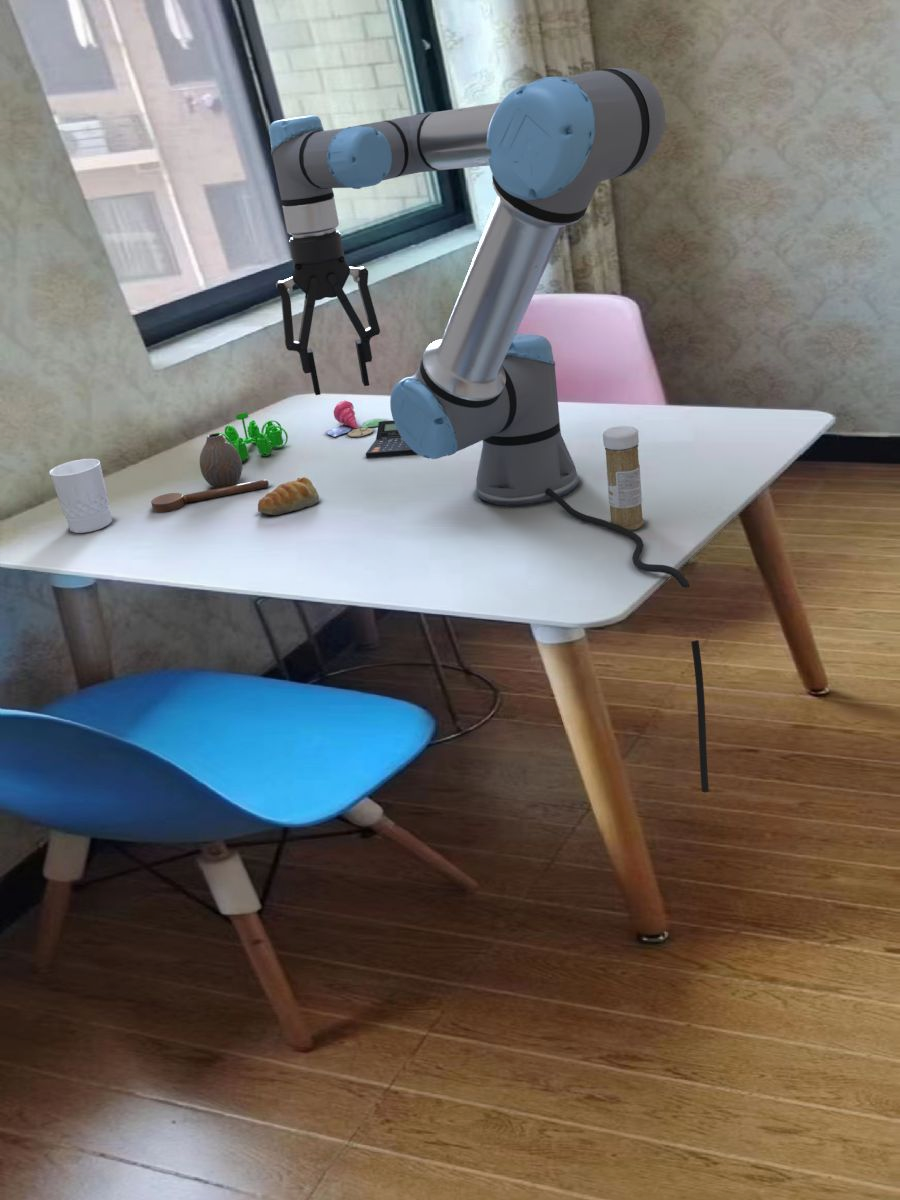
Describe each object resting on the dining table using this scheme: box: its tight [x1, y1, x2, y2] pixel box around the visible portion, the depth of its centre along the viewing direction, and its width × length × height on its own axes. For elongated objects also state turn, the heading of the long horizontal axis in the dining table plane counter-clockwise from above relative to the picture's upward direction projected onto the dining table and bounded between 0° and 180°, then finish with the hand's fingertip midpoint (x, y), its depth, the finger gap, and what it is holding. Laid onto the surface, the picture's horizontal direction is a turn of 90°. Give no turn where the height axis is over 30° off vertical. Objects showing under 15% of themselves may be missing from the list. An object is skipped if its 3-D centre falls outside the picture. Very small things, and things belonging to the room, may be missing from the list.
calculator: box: [365, 419, 418, 459], centre depth 202 cm, size 9×12×3 cm
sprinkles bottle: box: [602, 425, 645, 531], centre depth 152 cm, size 5×5×14 cm
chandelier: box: [215, 412, 289, 463], centre depth 210 cm, size 15×15×7 cm
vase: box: [199, 432, 243, 489], centre depth 194 cm, size 7×7×9 cm
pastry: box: [257, 476, 320, 516], centre depth 180 cm, size 9×7×4 cm
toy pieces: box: [326, 400, 387, 438], centre depth 215 cm, size 12×11×4 cm
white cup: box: [48, 458, 113, 534], centre depth 184 cm, size 8×8×10 cm
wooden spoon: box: [150, 479, 270, 513], centre depth 190 cm, size 19×5×1 cm, turn 103°
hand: (341, 388), depth 175 cm, fingers open, 7 cm apart
